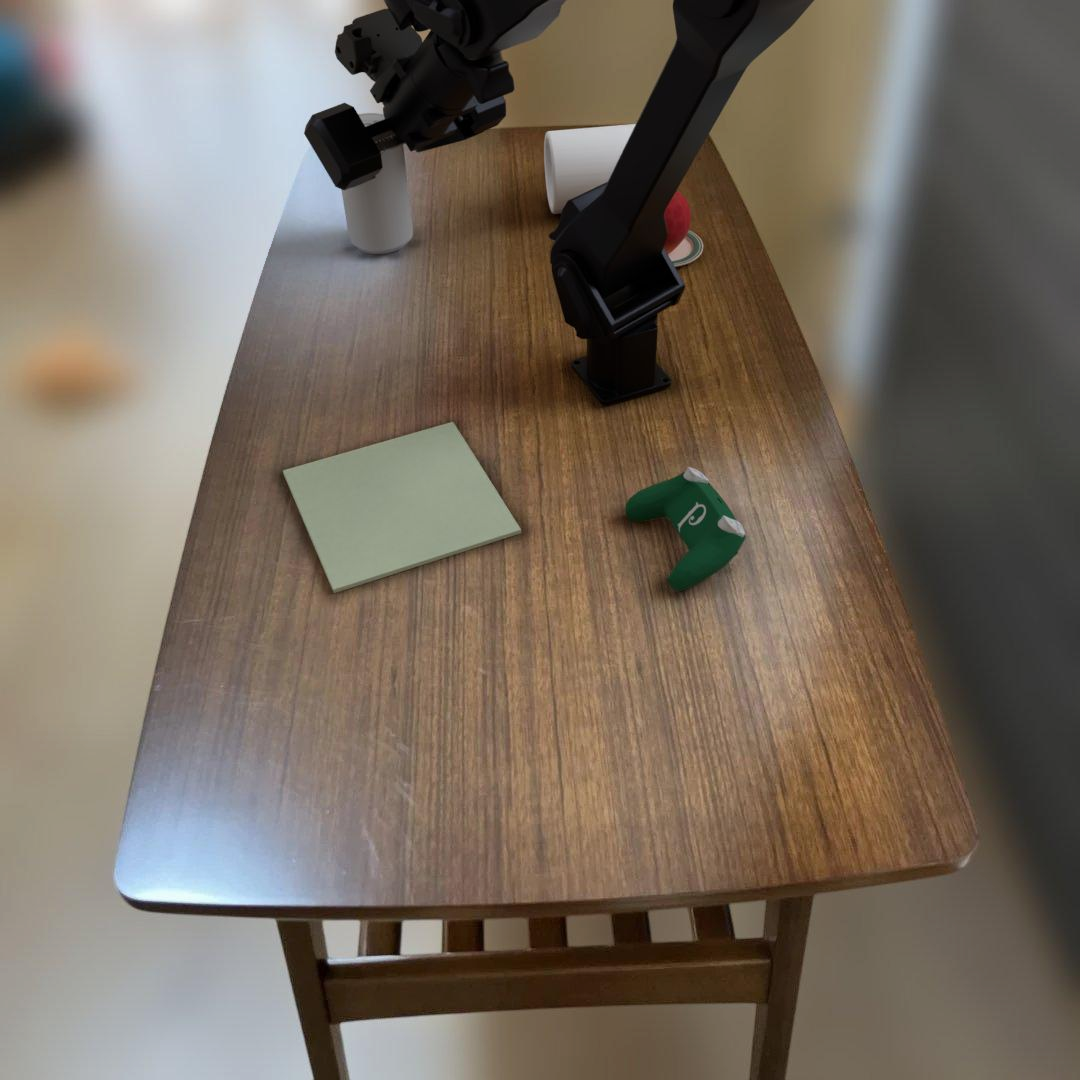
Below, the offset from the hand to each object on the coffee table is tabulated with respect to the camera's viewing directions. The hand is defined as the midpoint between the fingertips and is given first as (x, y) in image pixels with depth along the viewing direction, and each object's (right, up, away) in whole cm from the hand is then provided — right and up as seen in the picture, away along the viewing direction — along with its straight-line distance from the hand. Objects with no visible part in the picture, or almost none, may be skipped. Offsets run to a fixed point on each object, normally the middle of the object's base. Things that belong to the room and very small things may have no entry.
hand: (377, 163), depth 105 cm
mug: (+21, 0, +12) cm, 24 cm away
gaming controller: (+26, -36, -26) cm, 51 cm away
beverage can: (0, -6, +7) cm, 9 cm away
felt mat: (+5, -33, -22) cm, 40 cm away
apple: (+27, -7, +4) cm, 28 cm away
